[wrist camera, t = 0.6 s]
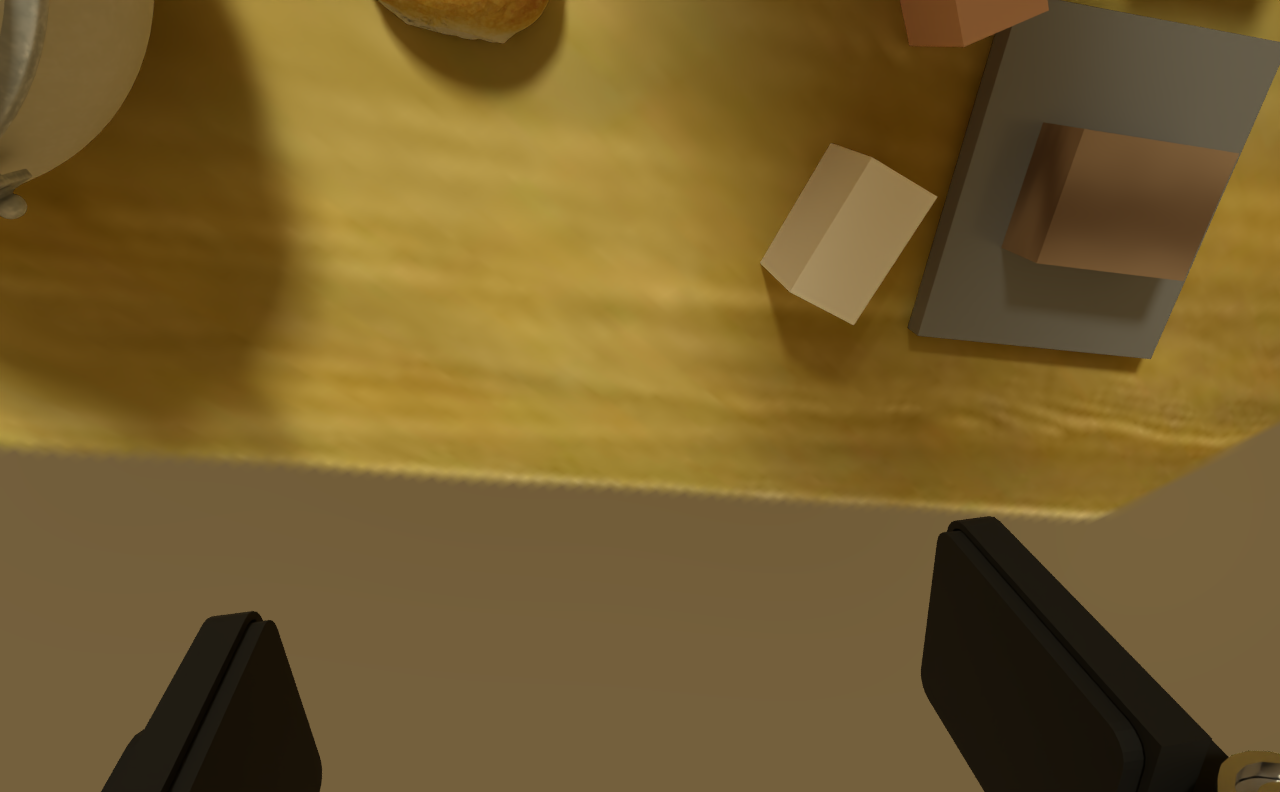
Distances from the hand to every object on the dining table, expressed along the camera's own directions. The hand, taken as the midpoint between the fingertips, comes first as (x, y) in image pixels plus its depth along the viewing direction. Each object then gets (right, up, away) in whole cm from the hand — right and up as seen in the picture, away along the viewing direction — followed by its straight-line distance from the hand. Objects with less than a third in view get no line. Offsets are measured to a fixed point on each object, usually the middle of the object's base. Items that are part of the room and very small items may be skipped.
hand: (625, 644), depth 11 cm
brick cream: (+9, +12, +27) cm, 31 cm away
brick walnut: (+23, +13, +27) cm, 38 cm away
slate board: (+23, +14, +28) cm, 39 cm away
